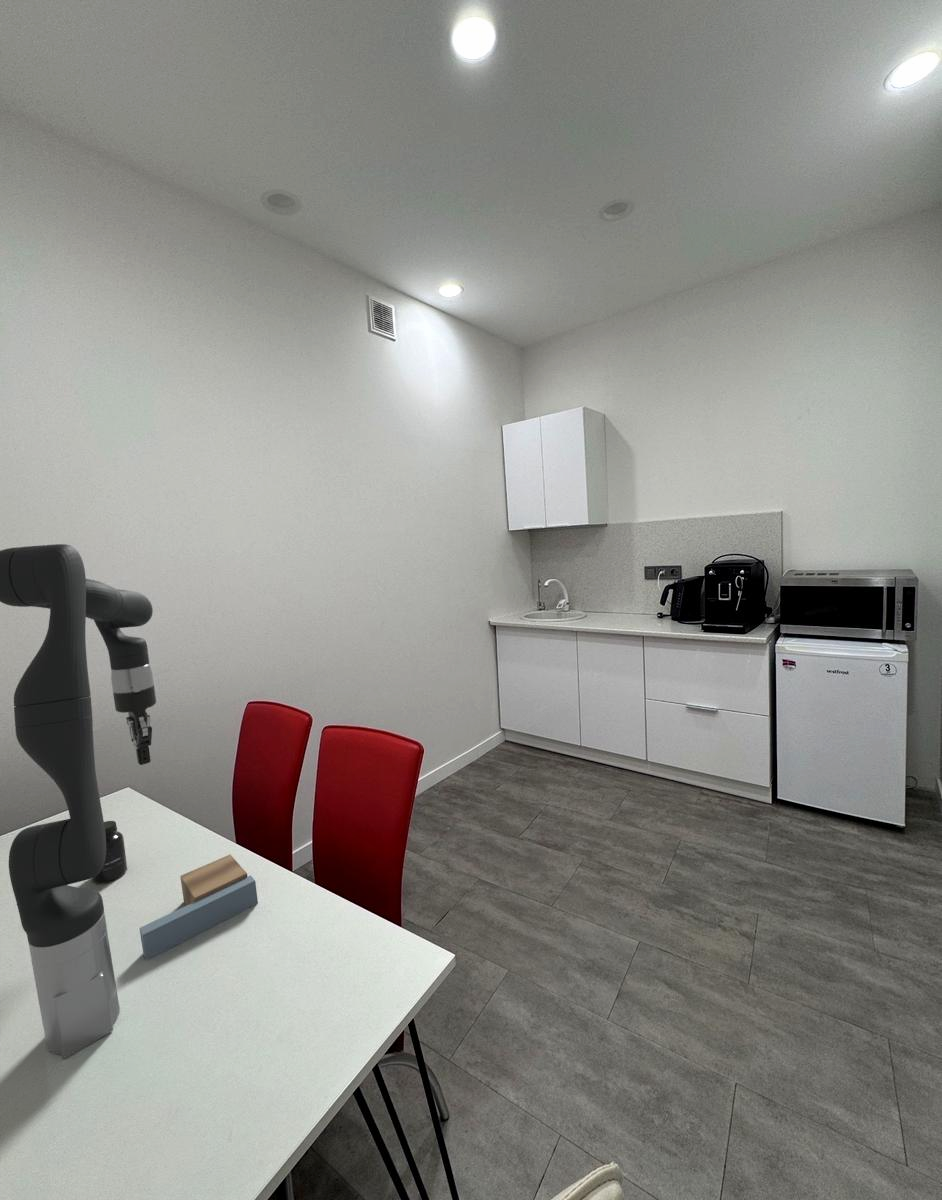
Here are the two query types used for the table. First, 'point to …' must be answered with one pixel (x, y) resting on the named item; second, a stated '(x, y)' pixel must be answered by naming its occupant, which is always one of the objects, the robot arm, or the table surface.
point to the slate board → (197, 917)
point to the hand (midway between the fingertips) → (144, 763)
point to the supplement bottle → (112, 855)
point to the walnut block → (211, 878)
